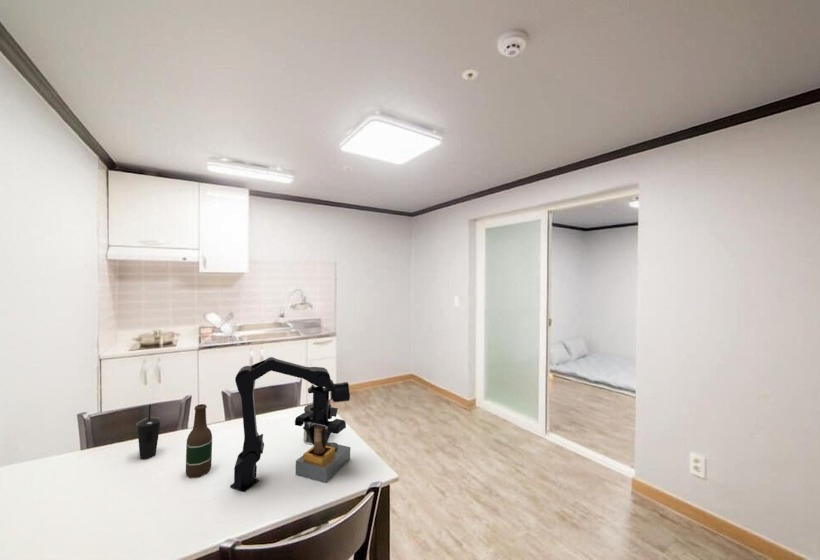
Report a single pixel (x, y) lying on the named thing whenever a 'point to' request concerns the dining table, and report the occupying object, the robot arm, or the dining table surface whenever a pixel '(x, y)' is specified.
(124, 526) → the dining table surface
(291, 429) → the dining table surface
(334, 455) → the grey block with socket
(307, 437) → the coffee can
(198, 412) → the beer bottle
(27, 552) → the dining table surface
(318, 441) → the wooden plug
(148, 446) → the drinking cup
